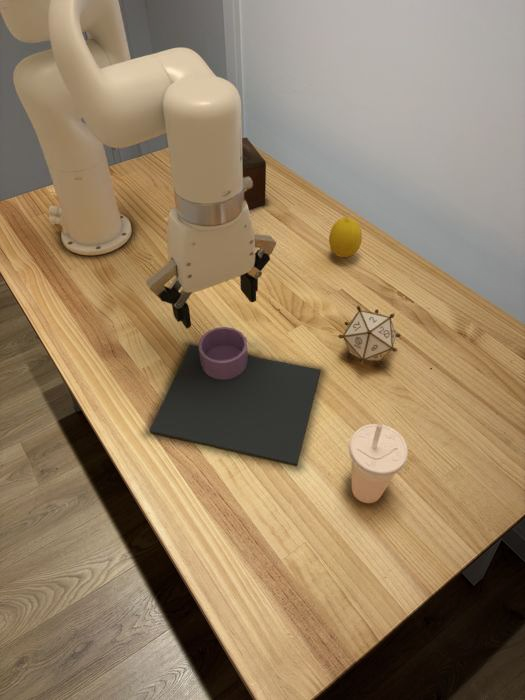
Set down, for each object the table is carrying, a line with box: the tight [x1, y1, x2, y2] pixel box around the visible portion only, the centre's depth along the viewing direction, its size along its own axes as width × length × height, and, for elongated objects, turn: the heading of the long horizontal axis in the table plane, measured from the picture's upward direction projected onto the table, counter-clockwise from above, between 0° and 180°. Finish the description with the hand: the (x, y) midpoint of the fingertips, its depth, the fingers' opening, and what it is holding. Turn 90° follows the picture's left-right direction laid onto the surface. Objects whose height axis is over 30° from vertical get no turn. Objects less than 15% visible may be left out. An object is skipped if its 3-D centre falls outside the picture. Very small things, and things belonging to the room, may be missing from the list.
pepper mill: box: [242, 137, 267, 210], centre depth 102 cm, size 16×11×18 cm
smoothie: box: [348, 422, 409, 504], centre depth 63 cm, size 6×6×14 cm
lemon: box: [328, 217, 363, 258], centre depth 95 cm, size 6×6×8 cm
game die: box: [337, 304, 402, 367], centre depth 79 cm, size 9×8×10 cm
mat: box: [149, 343, 321, 467], centre depth 77 cm, size 20×16×1 cm
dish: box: [198, 326, 249, 380], centre depth 80 cm, size 7×7×4 cm
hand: (216, 308), depth 74 cm, fingers open, 9 cm apart
